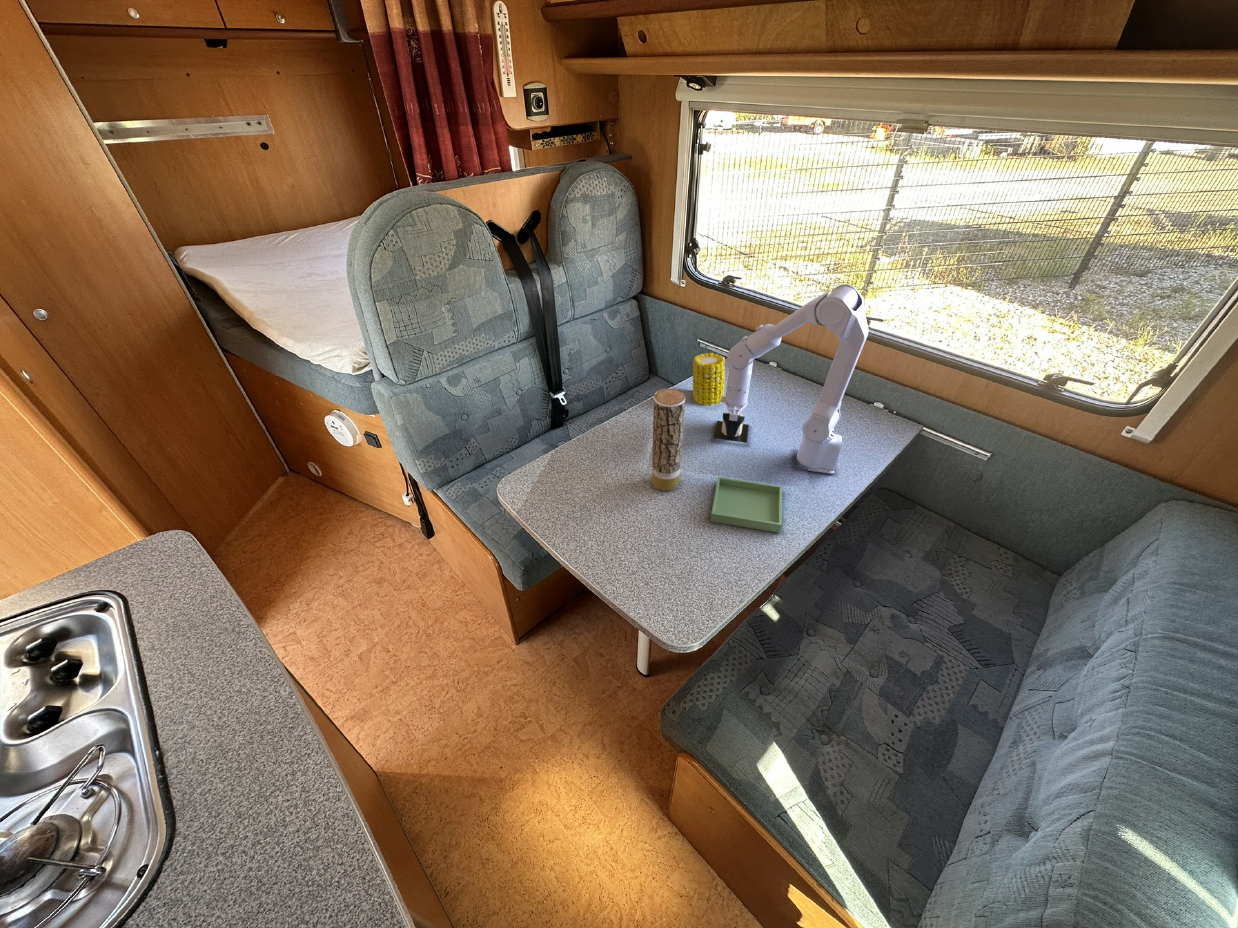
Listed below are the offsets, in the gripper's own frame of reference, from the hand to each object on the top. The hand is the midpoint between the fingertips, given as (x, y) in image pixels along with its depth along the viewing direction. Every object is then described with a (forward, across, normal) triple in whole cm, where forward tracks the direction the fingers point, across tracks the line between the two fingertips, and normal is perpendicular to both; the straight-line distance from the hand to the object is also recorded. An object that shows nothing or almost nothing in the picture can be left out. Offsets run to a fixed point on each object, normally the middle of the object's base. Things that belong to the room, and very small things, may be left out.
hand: (731, 428), depth 137 cm
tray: (+2, +29, +6) cm, 30 cm away
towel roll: (+1, 0, 0) cm, 1 cm away
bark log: (+2, +25, -14) cm, 29 cm away
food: (+2, -17, -9) cm, 19 cm away
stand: (+2, 0, 0) cm, 2 cm away
